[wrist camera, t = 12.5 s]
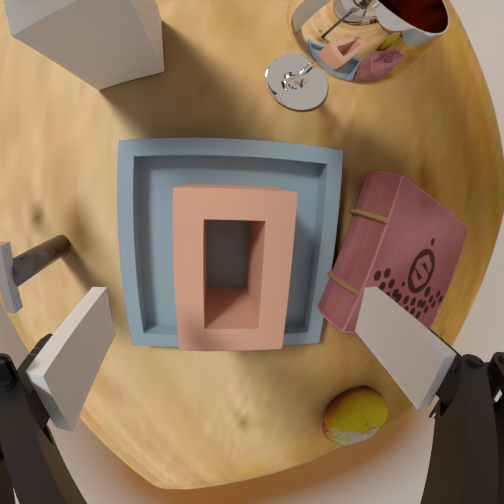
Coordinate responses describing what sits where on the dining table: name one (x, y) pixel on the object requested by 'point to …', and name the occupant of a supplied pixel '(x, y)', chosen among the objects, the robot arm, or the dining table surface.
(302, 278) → the tray
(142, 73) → the milk carton
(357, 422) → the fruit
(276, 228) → the pink window frame
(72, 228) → the dining table surface
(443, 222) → the book
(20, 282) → the grey t-shaped piece
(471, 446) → the robot arm
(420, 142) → the dining table surface
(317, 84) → the wineglass
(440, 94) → the dining table surface
